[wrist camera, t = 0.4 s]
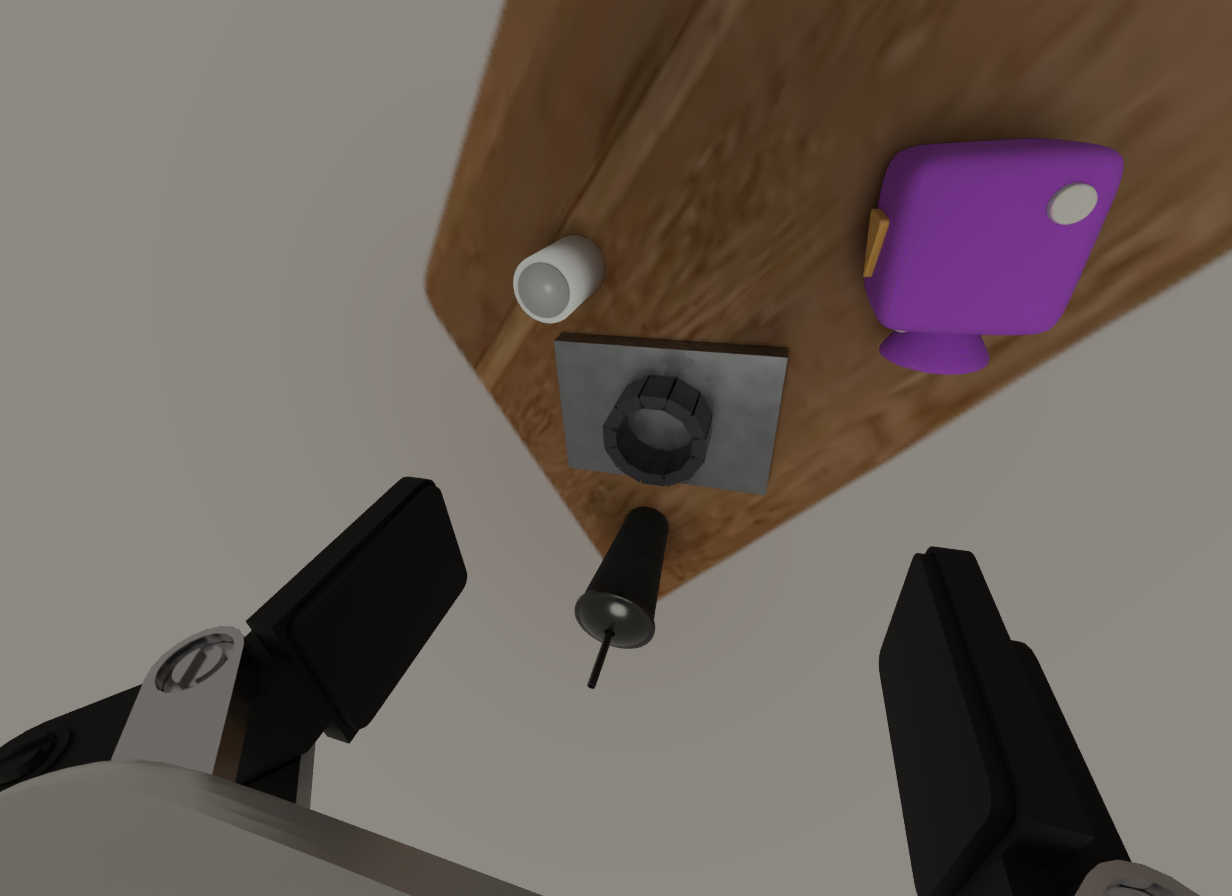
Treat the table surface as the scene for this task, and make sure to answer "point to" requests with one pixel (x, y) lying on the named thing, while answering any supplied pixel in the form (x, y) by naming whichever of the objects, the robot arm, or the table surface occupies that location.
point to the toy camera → (982, 243)
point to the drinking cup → (625, 587)
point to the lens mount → (671, 409)
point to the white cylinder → (559, 278)
